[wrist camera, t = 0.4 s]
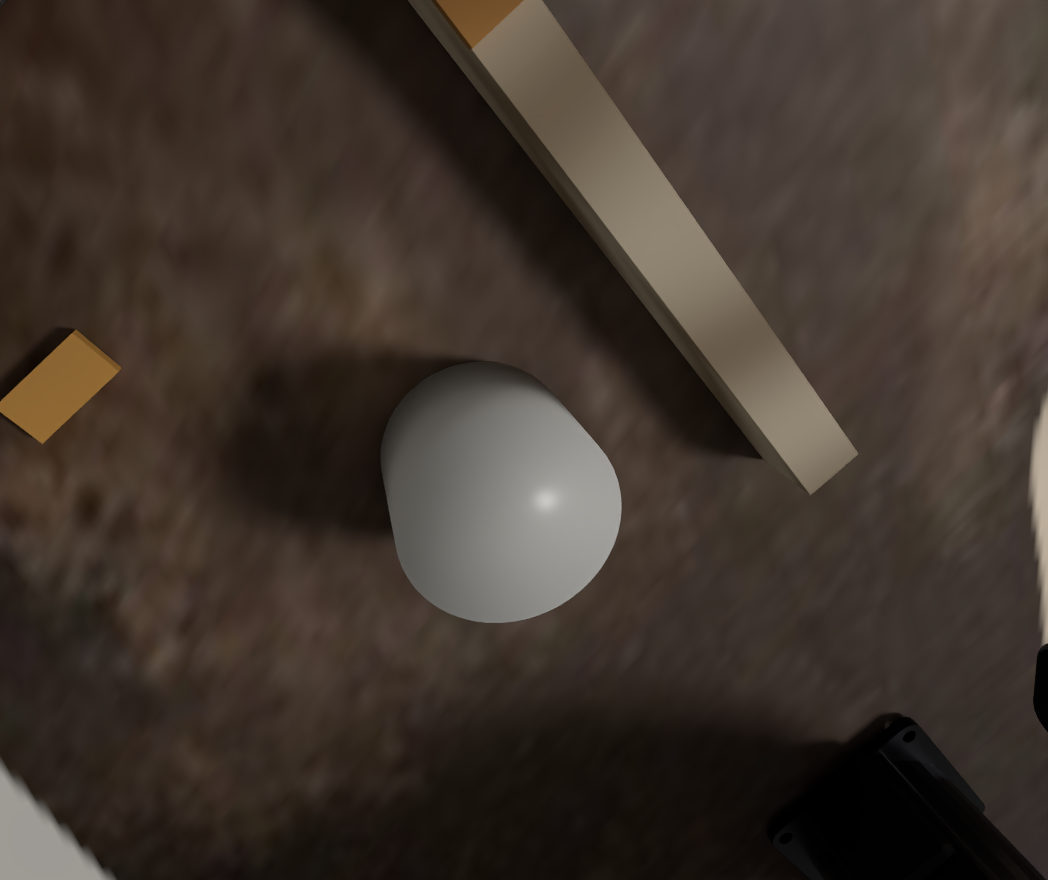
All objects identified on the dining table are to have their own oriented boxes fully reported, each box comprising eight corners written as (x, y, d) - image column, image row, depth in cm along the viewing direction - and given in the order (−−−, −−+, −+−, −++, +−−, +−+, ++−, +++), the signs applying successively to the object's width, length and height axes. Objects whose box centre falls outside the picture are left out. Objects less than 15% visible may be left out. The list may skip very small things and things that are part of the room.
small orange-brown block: (121, 368, 18) (118, 371, 18) (46, 438, 18) (42, 444, 18) (76, 329, 18) (72, 332, 18) (-2, 402, 18) (-7, 407, 18)
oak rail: (808, 421, 23) (869, 458, 21) (762, 461, 23) (817, 502, 21) (188, -443, 14) (160, -567, 11) (117, -369, 14) (74, -478, 11)
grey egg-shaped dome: (606, 453, 22) (663, 518, 18) (469, 573, 22) (498, 661, 19) (487, 319, 20) (525, 364, 16) (337, 455, 20) (343, 528, 17)
